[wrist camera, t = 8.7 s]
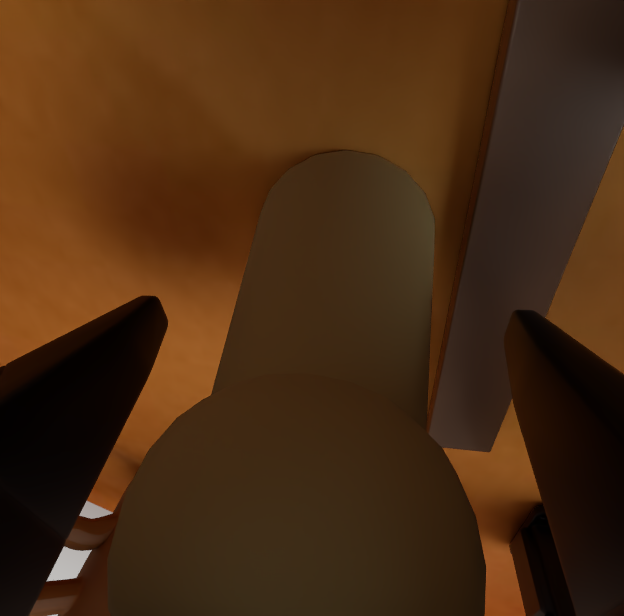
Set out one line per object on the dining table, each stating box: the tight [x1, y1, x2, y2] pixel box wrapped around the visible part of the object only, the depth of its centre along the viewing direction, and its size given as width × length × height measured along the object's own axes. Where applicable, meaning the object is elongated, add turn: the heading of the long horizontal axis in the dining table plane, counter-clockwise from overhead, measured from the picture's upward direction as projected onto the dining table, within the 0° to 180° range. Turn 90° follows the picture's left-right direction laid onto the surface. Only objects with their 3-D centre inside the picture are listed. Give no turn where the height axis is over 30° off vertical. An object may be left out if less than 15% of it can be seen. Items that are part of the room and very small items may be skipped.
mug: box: [29, 481, 132, 616], centre depth 24 cm, size 12×8×9 cm, turn 42°
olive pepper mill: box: [107, 150, 486, 616], centre depth 8 cm, size 6×6×11 cm
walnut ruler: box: [426, 0, 624, 452], centre depth 11 cm, size 3×22×1 cm, turn 5°
